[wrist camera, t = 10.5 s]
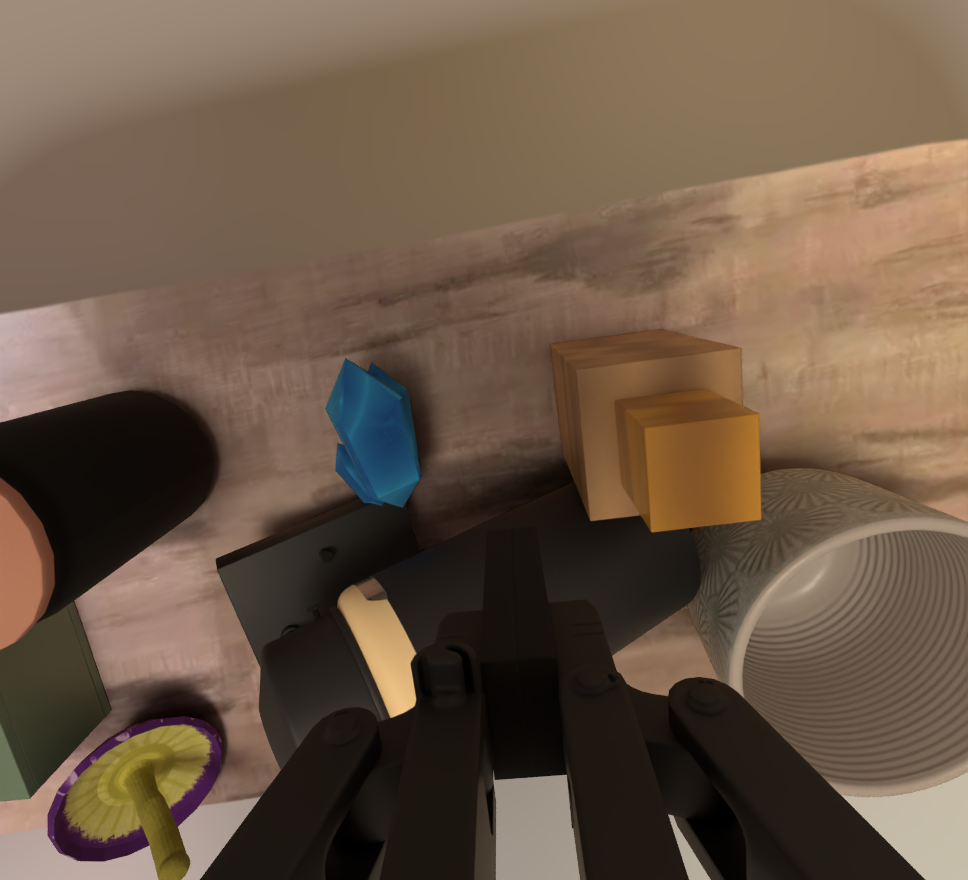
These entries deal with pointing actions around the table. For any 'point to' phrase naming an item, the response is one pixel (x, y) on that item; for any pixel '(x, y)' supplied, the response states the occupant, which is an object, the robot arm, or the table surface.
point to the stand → (622, 375)
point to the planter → (844, 628)
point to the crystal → (374, 435)
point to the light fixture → (423, 598)
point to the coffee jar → (90, 496)
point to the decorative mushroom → (137, 793)
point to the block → (689, 459)
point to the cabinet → (46, 702)
